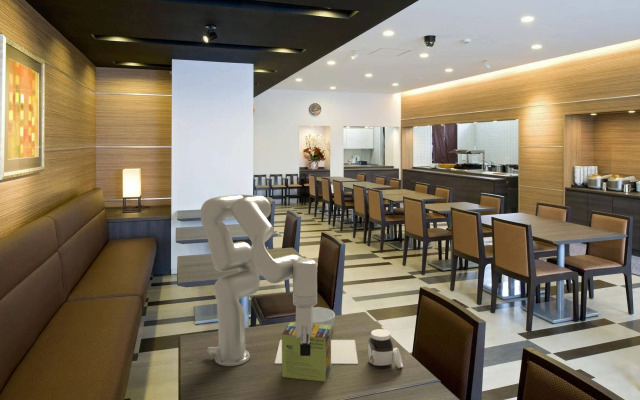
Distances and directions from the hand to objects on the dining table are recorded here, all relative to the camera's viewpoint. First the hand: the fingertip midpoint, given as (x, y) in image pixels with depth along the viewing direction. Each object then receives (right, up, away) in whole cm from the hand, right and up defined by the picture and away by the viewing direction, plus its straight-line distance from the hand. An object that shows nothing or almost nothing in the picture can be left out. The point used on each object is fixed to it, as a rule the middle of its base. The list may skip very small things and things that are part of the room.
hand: (305, 354), depth 146 cm
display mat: (+3, -9, +29) cm, 30 cm away
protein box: (0, -11, +13) cm, 17 cm away
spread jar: (+28, -10, +19) cm, 35 cm away
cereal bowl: (+3, -6, +50) cm, 50 cm away
